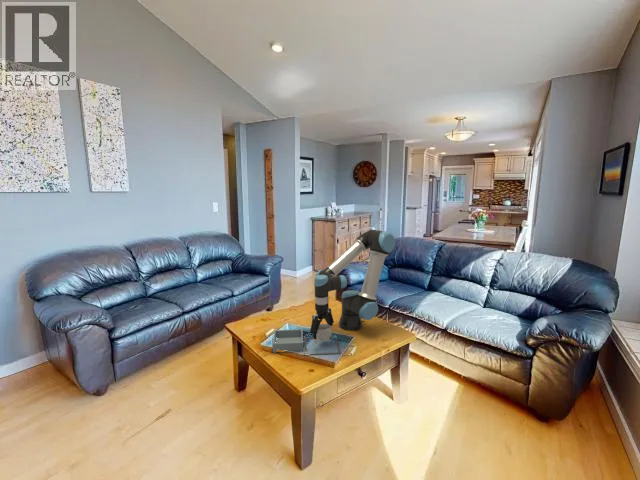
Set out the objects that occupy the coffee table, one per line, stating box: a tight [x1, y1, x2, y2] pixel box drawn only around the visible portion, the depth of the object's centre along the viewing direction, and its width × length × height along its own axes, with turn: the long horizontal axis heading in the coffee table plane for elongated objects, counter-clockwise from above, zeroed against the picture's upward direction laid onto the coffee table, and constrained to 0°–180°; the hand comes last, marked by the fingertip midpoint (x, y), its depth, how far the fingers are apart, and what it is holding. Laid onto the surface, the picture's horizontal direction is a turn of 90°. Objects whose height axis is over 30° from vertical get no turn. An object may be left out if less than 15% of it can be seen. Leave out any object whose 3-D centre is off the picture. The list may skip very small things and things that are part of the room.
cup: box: [317, 323, 332, 342], centre depth 175 cm, size 11×8×8 cm
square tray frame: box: [303, 336, 342, 356], centre depth 176 cm, size 21×21×2 cm
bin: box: [272, 328, 304, 354], centre depth 177 cm, size 17×17×5 cm
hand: (322, 339), depth 176 cm, fingers closed on cup, 11 cm apart
